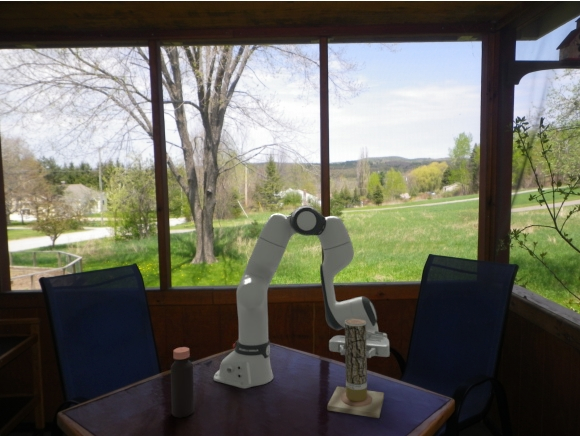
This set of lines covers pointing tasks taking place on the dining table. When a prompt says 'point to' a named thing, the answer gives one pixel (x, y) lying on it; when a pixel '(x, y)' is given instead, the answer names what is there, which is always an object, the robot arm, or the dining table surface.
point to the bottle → (182, 383)
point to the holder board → (356, 403)
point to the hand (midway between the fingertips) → (355, 354)
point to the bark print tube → (356, 359)
